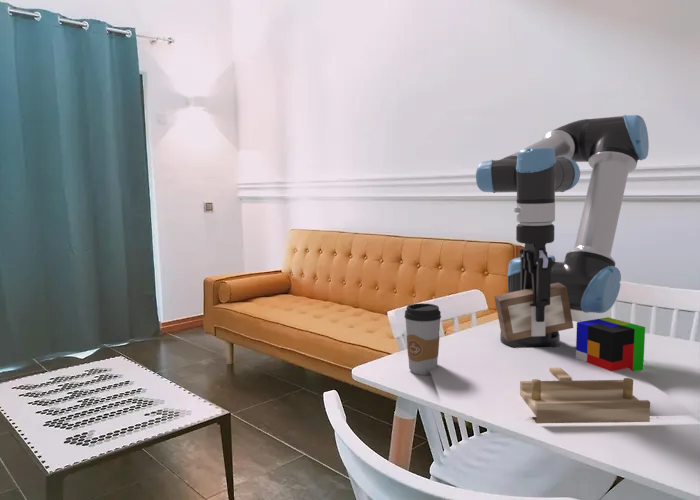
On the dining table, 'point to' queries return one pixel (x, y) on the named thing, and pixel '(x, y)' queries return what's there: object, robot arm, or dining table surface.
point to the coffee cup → (422, 337)
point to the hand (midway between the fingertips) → (534, 331)
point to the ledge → (584, 401)
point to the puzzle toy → (611, 344)
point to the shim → (560, 374)
